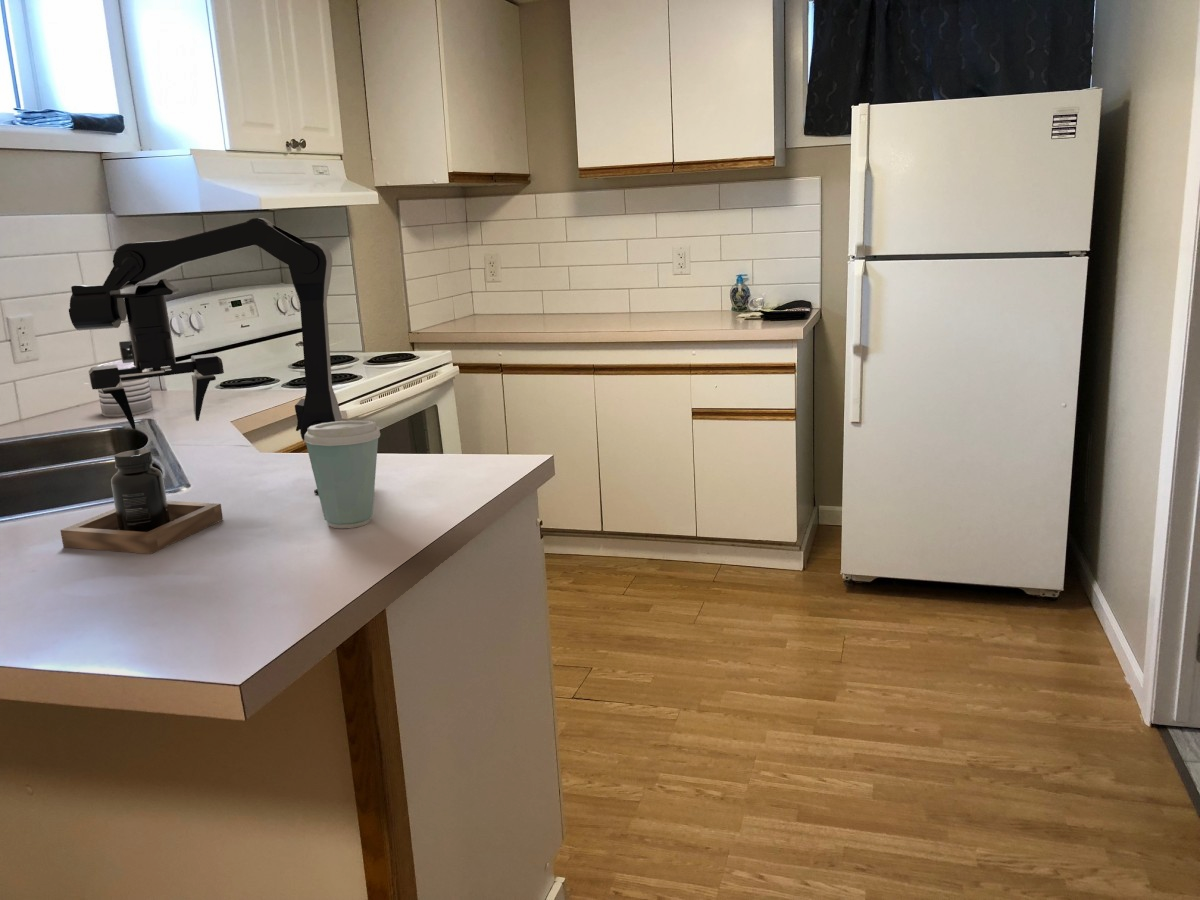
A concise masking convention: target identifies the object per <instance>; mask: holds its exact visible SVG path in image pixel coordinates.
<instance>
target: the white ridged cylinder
mask: <svg viewBox="0 0 1200 900" xmlns="http://www.w3.org/2000/svg"><path fill="white" fill-rule="evenodd" d="M107 365H116V366H117V367H118V369H125V368H134V367H136V366H134V362H130V363H123V362H122V359H121V360H114V361H111V362H107V363H102V364H99V365H96V367H98V366H107ZM142 372H148V369H144V370H142ZM149 380H150V379H149V378H142V379H133V380H125V381H121V383H120V384H122V386H123V388H124V390H125V393H126V396H127V399H128V403H129V406H130V409H131V412H132V415H133V416H136V415H141V414H146V413H149V412H150V411H153V410H154V406H153V400H152V393H151V387H150V381H149ZM97 391H98V398H99V403H100V410H101V416H102V415H103V416H104V417H106V418H107V417H109V418H111V417H112V418H113V417H115V418H116V417H117V418H119V417H126V416H125V414H124V412H123V410H122V409H121V407H120V406H119V404H118V403H117V402H116V400H115V399H114V398H113V396H112V395H111V394H103V392H102V390H101V389H97Z"/></svg>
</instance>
